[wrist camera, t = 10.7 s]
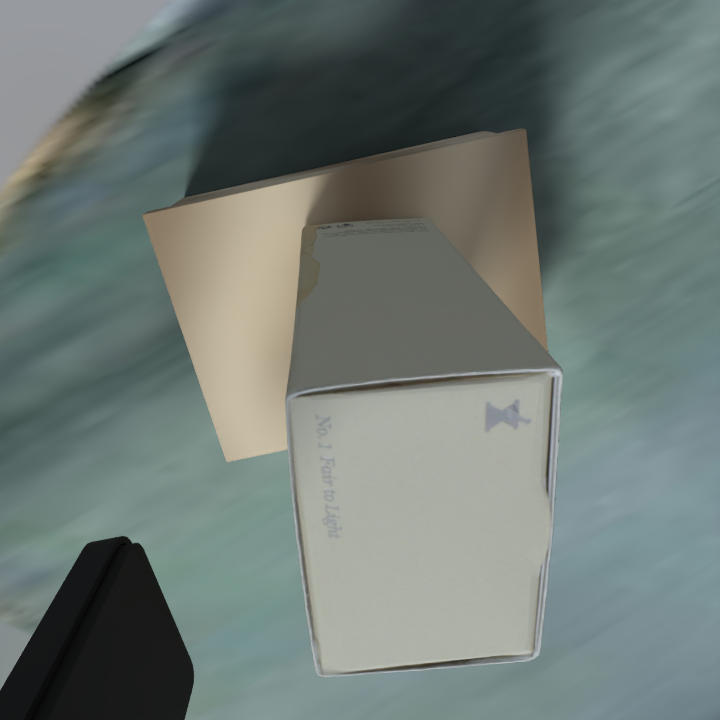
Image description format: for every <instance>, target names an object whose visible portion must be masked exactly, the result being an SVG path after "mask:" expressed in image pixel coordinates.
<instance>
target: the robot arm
mask: <svg viewBox="0 0 720 720" xmlns="http://www.w3.org/2000/svg"><path fill="white" fill-rule="evenodd" d="M193 683H194V670H193V664H192V661H191V659H190V656H189V654H188V652H187V649H186V647H185V645H184V642H183V640H182V638H181V635H180V633H179V631H178V628H177V626H176V624H175V621H174V619H173V617H172V614H171V612H170V610H169V607H168V605H167V603H166V600H165V598H164V596H163V593H162V591H161V588H160V586H159V584H158V581H157V579H156V577H155V574H154V572H153V570H152V567H151V565H150V563H149V560H148V558H147V556H146V553H145V551H144V549H143V547H142V546H141V545H140V544H139V543H133V544H132V542H131V540H130V539H128V538H127V537H125V536H121V537H115V538H110V539H105V540H100V541H94V542H90V543H88V544H87V545H86V546H85V547H84V548H83V550H82V552H81V553H80V555H79V557H78V559H77V560H76V562H75V564H74V565H73V567H72V569H71V570H70V572H69V574H68V576H67V577H66V579H65V581H64V582H63V584H62V586H61V588H60V589H59V591H58V593H57V594H56V596H55V598H54V600H53V601H52V603H51V605H50V606H49V608H48V610H47V611H46V613H45V615H44V617H43V618H42V620H41V622H40V623H39V625H38V627H37V629H36V630H35V632H34V634H33V635H32V637H31V639H30V641H29V642H28V644H27V646H26V647H25V649H24V651H23V653H22V654H21V656H20V658H19V659H18V661H17V663H16V665H15V666H14V668H13V670H12V672H11V673H10V675H9V676H8V678H7V680H6V682H5V683H4V685H3V687H2V688H1V690H0V720H184V719H185V715H186V712H187V708H188V704H189V700H190V696H191V692H192V688H193Z"/></svg>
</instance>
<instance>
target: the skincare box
mask: <svg viewBox="0 0 720 720" xmlns="http://www.w3.org/2000/svg"><path fill="white" fill-rule="evenodd" d="M562 383H563V370H562V369H561V367H560V366H559V365H558V364H557V362H556V361H555V360H554V359H553V358H552V357H551V355H550V354H549V353H548V352H547V351H546V350H545V349H544V347H543V346H542V345H541V344H540V343H539V342H538V341H537V340H536V339H535V337H534V336H533V335H532V334H531V333H530V332H529V331H528V330H527V329H526V328H525V327H524V326H523V324H522V323H521V322H520V321H519V320H518V319H517V318H516V316H515V315H514V314H513V313H512V312H511V310H510V309H509V308H508V307H507V306H506V305H505V304H504V303H503V302H502V300H501V299H500V298H499V297H498V296H497V295H496V294H495V293H494V291H493V290H492V289H491V287H489V286H488V285H487V283H486V282H485V281H484V280H483V279H482V278H481V276H480V275H479V274H478V273H477V272H476V271H475V270H474V269H473V267H472V266H471V265H470V264H469V263H468V262H467V261H466V259H465V258H464V257H463V256H462V255H461V254H460V253H459V252H458V250H457V249H456V248H455V247H454V246H453V245H452V244H451V243H450V241H449V240H448V239H447V238H446V237H445V236H444V235H443V233H442V232H441V231H440V230H439V229H438V228H437V226H436V225H435V224H434V223H433V222H432V221H431V220H430V219H428V218H410V219H386V220H369V221H352V222H339V223H329V224H318V225H308V226H305V227H303V229H302V236H301V249H300V265H299V278H298V289H297V300H296V310H295V322H294V332H293V341H292V351H291V362H290V369H289V375H288V383H287V390H286V396H285V408H286V429H287V446H288V461H289V470H290V481H291V493H292V501H293V512H294V521H295V530H296V539H297V546H298V554H299V562H300V570H301V578H302V586H303V592H304V600H305V607H306V614H307V620H308V627H309V633H310V640H311V648H312V652H313V657H314V664H315V669H316V672H317V674H318V675H320V676H321V677H334V676H351V675H361V674H370V673H388V672H404V671H412V670H428V669H441V668H455V667H465V666H476V665H485V664H501V663H511V662H525V661H529V660H532V659H535V658H536V657H537V656H538V655H539V653H540V649H541V640H542V631H543V622H544V614H545V606H546V593H547V585H548V575H549V565H550V556H551V547H552V538H553V523H554V506H555V491H556V480H557V460H558V445H559V429H560V416H561V395H562Z"/></svg>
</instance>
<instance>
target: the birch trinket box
mask: <svg viewBox="0 0 720 720" xmlns="http://www.w3.org/2000/svg"><path fill="white" fill-rule="evenodd" d="M143 218H144V221H145V224H146V227H147V230H148V233H149V236H150V239H151V242H152V245H153V248H154V251H155V254H156V256H157V259H158V262H159V265H160V268H161V271H162V274H163V277H164V280H165V283H166V286H167V289H168V292H169V295H170V297H171V300H172V303H173V306H174V309H175V312H176V315H177V318H178V321H179V324H180V327H181V330H182V333H183V336H184V338H185V341H186V344H187V347H188V350H189V353H190V356H191V359H192V362H193V365H194V368H195V371H196V374H197V376H198V379H199V382H200V385H201V388H202V391H203V394H204V397H205V400H206V403H207V406H208V409H209V412H210V415H211V417H212V420H213V423H214V426H215V429H216V432H217V435H218V438H219V441H220V444H221V447H222V450H223V453H224V456H225V458H226V461H227V462H230V461H234V460H239V459H244V458H249V457H254V456H259V455H263V454H268V453H273V452H278V451H283V450H287V449H288V446H287V429H286V408H285V396H286V390H287V383H288V375H289V369H290V362H291V351H292V341H293V332H294V322H295V310H296V300H297V289H298V278H299V265H300V249H301V236H302V229H303V227H305V226H308V225H318V224H329V223H339V222H352V221H369V220H386V219H410V218H428V219H430V220H431V221H432V222H433V223H434V224H435V225H436V226H437V228H438V229H439V230H440V231H441V232H442V233H443V235H444V236H445V237H446V238H447V239H448V240H449V241H450V243H451V244H452V245H453V246H454V247H455V248H456V249H457V250H458V252H459V253H460V254H461V255H462V256H463V257H464V258H465V259H466V261H467V262H468V263H469V264H470V265H471V266H472V267H473V269H474V270H475V271H476V272H477V273H478V274H479V275H480V276H481V278H482V279H483V280H484V281H485V282H486V283H487V285H488V286H489V287H491V289H492V290H493V291H494V293H495V294H496V295H497V296H498V297H499V298H500V299H501V300H502V302H503V303H504V304H505V305H506V306H507V307H508V308H509V309H510V310H511V312H512V313H513V314H514V315H515V316H516V318H517V319H518V320H519V321H520V322H521V323H522V324H523V326H524V327H525V328H526V329H527V330H528V331H529V332H530V333H531V334H532V335H533V336H534V337H535V339H536V340H537V341H538V342H539V343H540V344H541V345H542V346H543V347H544V349H545V350H546V351H547V352H548V347H547V337H546V326H545V316H544V306H543V296H542V286H541V276H540V265H539V255H538V245H537V235H536V225H535V215H534V204H533V194H532V184H531V174H530V164H529V154H528V144H527V133H526V129H515V130H511V131H506V132H502V133H493V132H488V131H480V132H476V133H471V134H467V135H462V136H458V137H453V138H449V139H444V140H440V141H435V142H431V143H426V144H422V145H417V146H413V147H408V148H404V149H399V150H395V151H391V152H386V153H382V154H377V155H373V156H368V157H364V158H359V159H355V160H350V161H346V162H341V163H337V164H332V165H328V166H323V167H319V168H314V169H310V170H306V171H301V172H297V173H292V174H288V175H283V176H279V177H274V178H270V179H265V180H261V181H256V182H252V183H247V184H243V185H238V186H234V187H229V188H225V189H221V190H216V191H212V192H207V193H203V194H198V195H194V196H189V197H185V198H182V199H181V200H179V201H178V202H176V203H175V204H173V205H172V206H170V207H166V208H161V209H157V210H152V211H148V212H146V213H145V214H143Z"/></svg>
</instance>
